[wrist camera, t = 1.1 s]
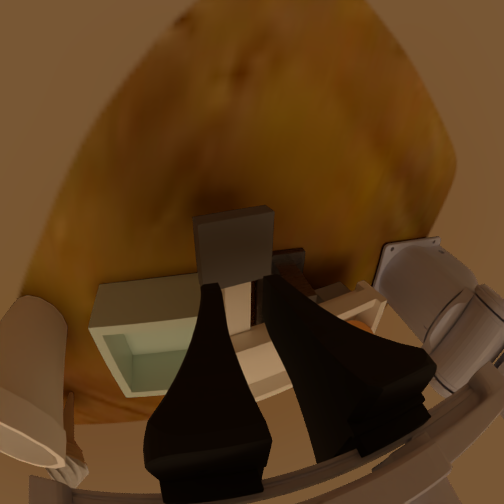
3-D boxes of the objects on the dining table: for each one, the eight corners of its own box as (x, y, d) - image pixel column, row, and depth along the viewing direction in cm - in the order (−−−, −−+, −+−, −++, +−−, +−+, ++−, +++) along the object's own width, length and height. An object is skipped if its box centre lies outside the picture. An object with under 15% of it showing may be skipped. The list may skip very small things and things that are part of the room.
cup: (207, 271, 22) (217, 313, 18) (215, 346, 27) (224, 386, 23) (99, 284, 20) (88, 327, 16) (127, 356, 25) (126, 397, 21)
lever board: (365, 181, 20) (415, 205, 16) (333, 326, 28) (363, 358, 24) (183, 204, 15) (210, 244, 11) (206, 373, 23) (227, 418, 19)
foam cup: (94, 354, 24) (85, 474, 13) (24, 353, 21) (1, 456, 11) (63, 277, 19) (17, 419, 8) (-13, 282, 17) (-68, 393, 6)
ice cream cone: (80, 407, 28) (78, 508, 15) (44, 388, 25) (33, 494, 12) (99, 394, 27) (100, 508, 15) (61, 373, 24) (49, 494, 12)
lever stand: (302, 247, 24) (333, 286, 19) (290, 338, 29) (309, 378, 25) (256, 253, 23) (279, 296, 18) (253, 346, 28) (269, 388, 24)
